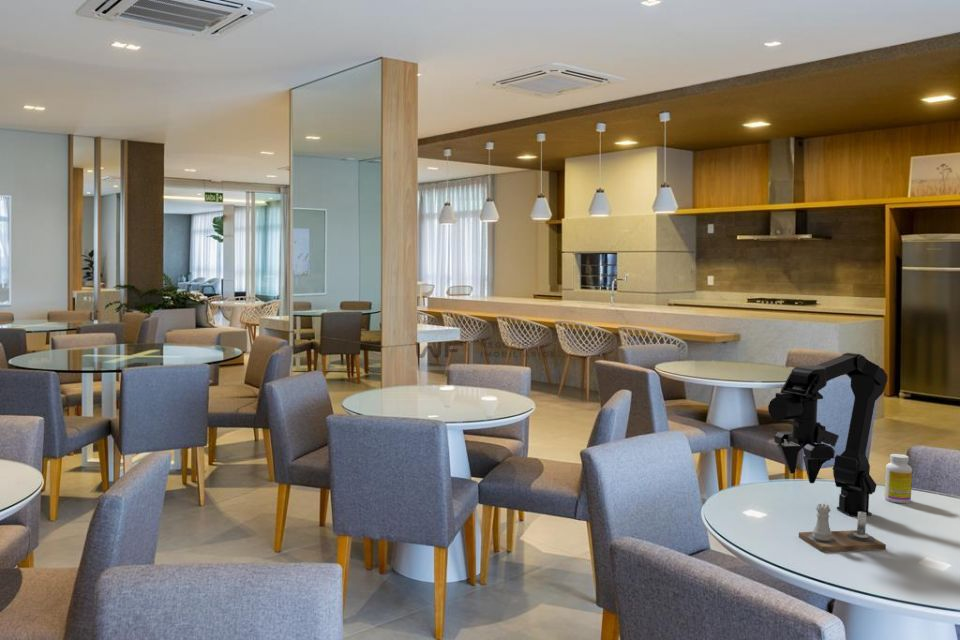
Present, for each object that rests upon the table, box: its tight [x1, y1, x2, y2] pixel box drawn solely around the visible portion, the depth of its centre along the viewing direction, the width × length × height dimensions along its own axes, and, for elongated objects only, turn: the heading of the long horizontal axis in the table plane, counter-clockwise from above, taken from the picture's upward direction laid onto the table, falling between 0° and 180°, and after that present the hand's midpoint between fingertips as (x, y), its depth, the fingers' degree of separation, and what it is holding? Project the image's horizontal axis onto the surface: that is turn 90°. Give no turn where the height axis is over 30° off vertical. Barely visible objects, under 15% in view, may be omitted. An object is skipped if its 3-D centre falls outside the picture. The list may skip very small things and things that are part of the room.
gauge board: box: [798, 529, 887, 553], centre depth 190 cm, size 16×10×1 cm, turn 98°
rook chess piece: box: [811, 503, 832, 541], centre depth 189 cm, size 4×4×8 cm
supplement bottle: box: [884, 453, 913, 504], centre depth 225 cm, size 7×7×13 cm
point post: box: [854, 511, 870, 539], centre depth 191 cm, size 3×3×6 cm
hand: (802, 478), depth 203 cm, fingers open, 9 cm apart
